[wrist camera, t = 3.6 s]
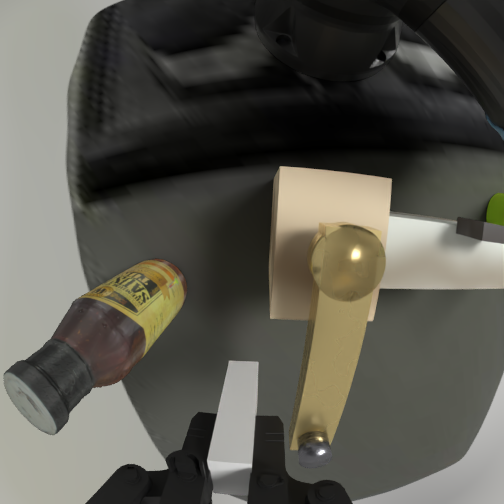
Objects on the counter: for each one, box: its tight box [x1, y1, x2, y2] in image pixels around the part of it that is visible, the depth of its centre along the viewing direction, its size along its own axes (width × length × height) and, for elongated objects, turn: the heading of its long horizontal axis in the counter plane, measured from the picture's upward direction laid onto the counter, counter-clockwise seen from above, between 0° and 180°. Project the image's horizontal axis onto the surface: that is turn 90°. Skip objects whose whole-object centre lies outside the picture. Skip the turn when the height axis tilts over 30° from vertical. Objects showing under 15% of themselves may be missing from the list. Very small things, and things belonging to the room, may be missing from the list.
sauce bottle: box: [4, 259, 187, 435], centre depth 18 cm, size 6×6×20 cm
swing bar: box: [289, 222, 386, 468], centre depth 12 cm, size 13×3×3 cm, turn 177°
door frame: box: [269, 166, 504, 321], centre depth 18 cm, size 8×20×15 cm, turn 87°
